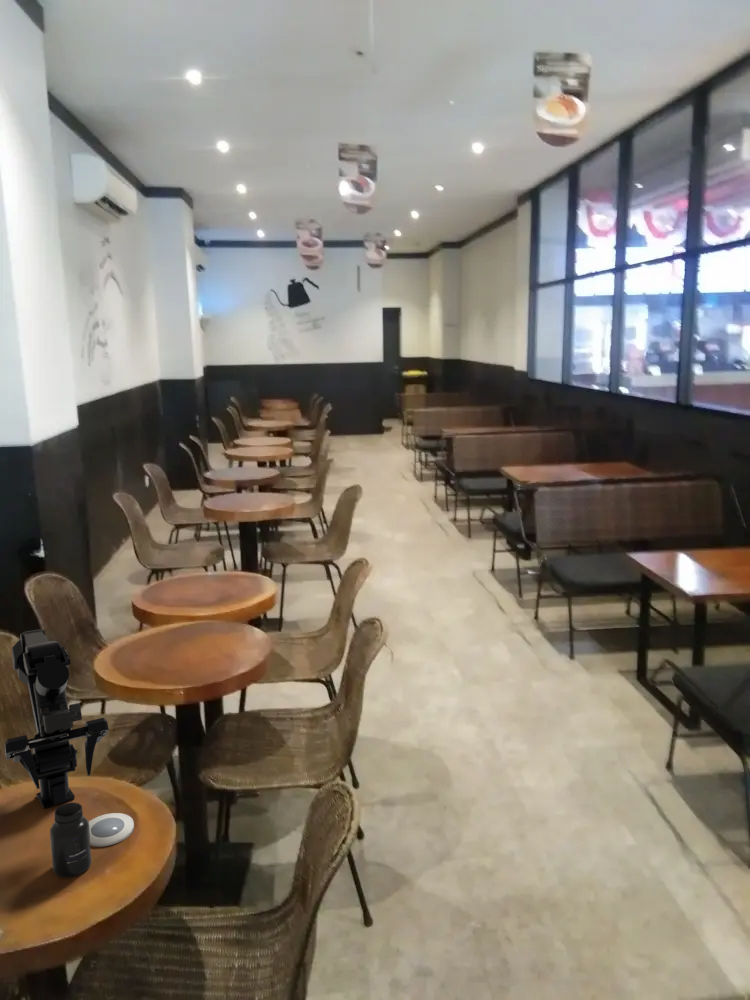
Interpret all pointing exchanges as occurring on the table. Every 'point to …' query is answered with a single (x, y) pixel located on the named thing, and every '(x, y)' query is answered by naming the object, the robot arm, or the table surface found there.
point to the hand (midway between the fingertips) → (64, 782)
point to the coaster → (110, 829)
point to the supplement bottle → (70, 841)
